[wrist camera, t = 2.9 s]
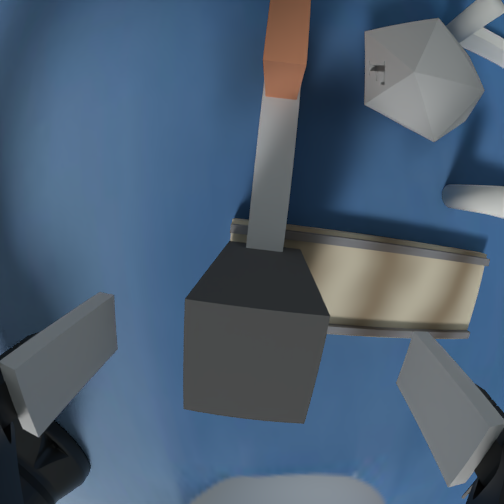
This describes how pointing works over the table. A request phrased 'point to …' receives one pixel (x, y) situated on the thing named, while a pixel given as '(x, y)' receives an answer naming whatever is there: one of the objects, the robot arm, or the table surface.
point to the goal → (500, 52)
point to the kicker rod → (261, 269)
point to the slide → (386, 281)
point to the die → (420, 77)
